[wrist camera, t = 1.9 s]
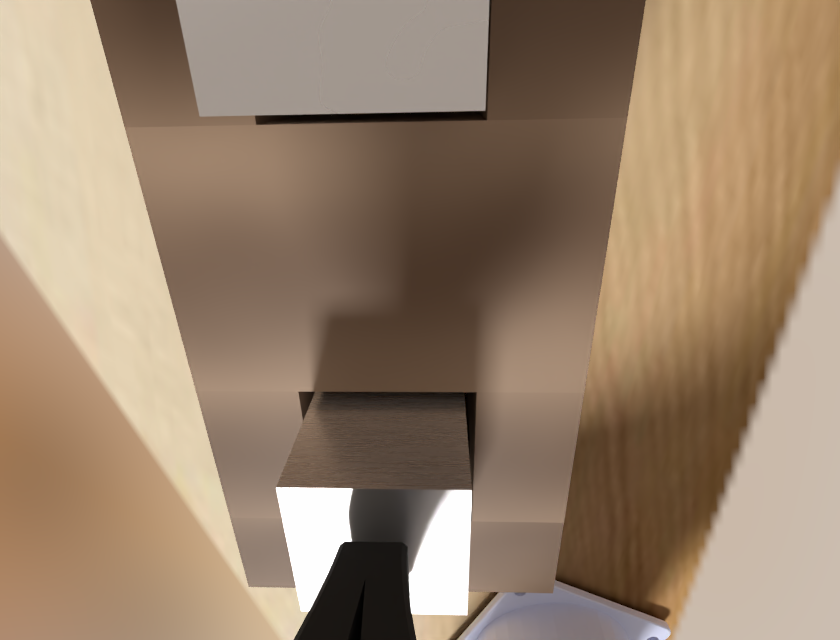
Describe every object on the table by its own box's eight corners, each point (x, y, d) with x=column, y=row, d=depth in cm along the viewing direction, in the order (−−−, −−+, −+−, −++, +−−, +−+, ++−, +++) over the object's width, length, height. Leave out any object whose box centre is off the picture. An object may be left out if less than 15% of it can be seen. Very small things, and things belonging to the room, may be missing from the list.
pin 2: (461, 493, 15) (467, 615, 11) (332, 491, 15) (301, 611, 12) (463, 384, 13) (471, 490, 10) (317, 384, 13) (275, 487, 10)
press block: (531, 497, 19) (553, 593, 15) (284, 494, 19) (249, 586, 16) (622, -323, 9) (735, -575, 6) (129, -294, 10) (-49, -512, 6)
